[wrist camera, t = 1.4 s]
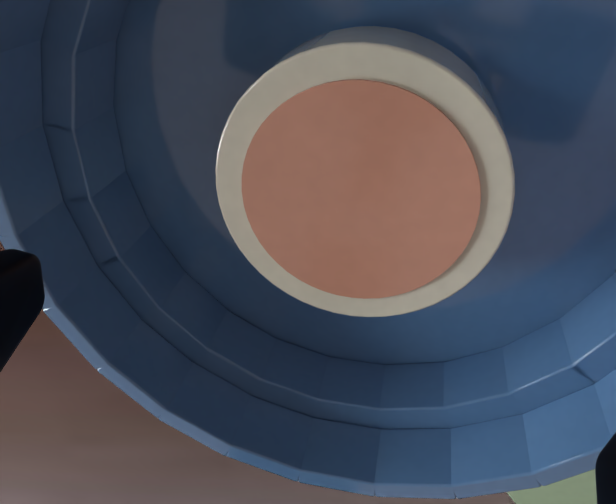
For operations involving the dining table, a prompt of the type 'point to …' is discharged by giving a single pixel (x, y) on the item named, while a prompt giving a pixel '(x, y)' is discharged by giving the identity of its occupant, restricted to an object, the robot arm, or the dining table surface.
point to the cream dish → (367, 173)
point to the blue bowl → (281, 306)
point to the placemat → (561, 491)
